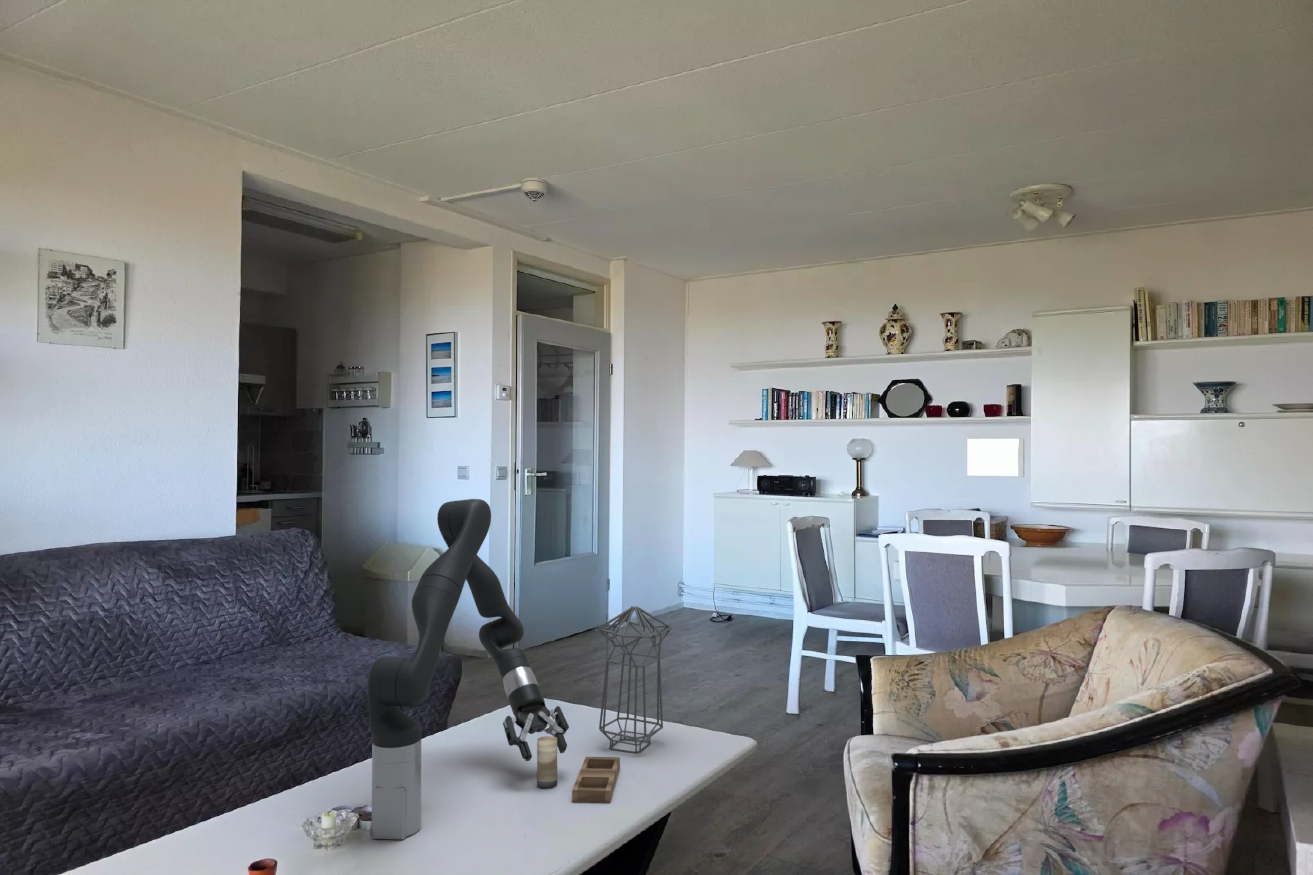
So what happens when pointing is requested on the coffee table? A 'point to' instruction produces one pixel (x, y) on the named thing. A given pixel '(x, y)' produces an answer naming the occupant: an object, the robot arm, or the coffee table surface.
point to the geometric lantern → (642, 623)
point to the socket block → (596, 780)
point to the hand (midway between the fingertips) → (546, 755)
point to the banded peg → (547, 762)
